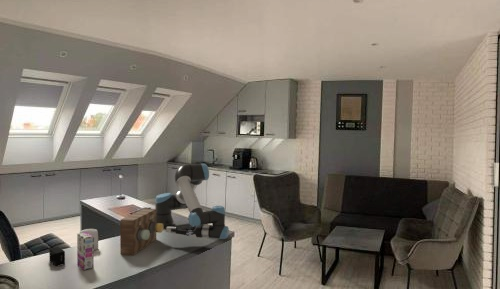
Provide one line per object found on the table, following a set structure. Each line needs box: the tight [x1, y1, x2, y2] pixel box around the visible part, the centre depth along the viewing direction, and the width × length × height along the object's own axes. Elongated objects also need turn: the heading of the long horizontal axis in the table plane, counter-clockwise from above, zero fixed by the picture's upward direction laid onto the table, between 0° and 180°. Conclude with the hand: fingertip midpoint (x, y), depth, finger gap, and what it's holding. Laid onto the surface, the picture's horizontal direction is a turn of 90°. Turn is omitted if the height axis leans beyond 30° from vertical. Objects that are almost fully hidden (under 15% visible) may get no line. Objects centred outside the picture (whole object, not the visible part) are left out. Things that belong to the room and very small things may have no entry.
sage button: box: [140, 230, 150, 240], centre depth 185 cm, size 6×3×6 cm, turn 170°
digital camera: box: [49, 246, 66, 267], centre depth 168 cm, size 10×5×7 cm, turn 48°
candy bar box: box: [76, 232, 95, 271], centre depth 164 cm, size 11×5×16 cm, turn 45°
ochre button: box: [155, 223, 164, 234], centre depth 199 cm, size 6×3×6 cm, turn 170°
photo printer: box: [79, 228, 99, 251], centre depth 187 cm, size 10×4×12 cm, turn 104°
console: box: [119, 208, 157, 256], centre depth 193 cm, size 28×10×20 cm, turn 170°
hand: (166, 229), depth 198 cm, fingers closed
